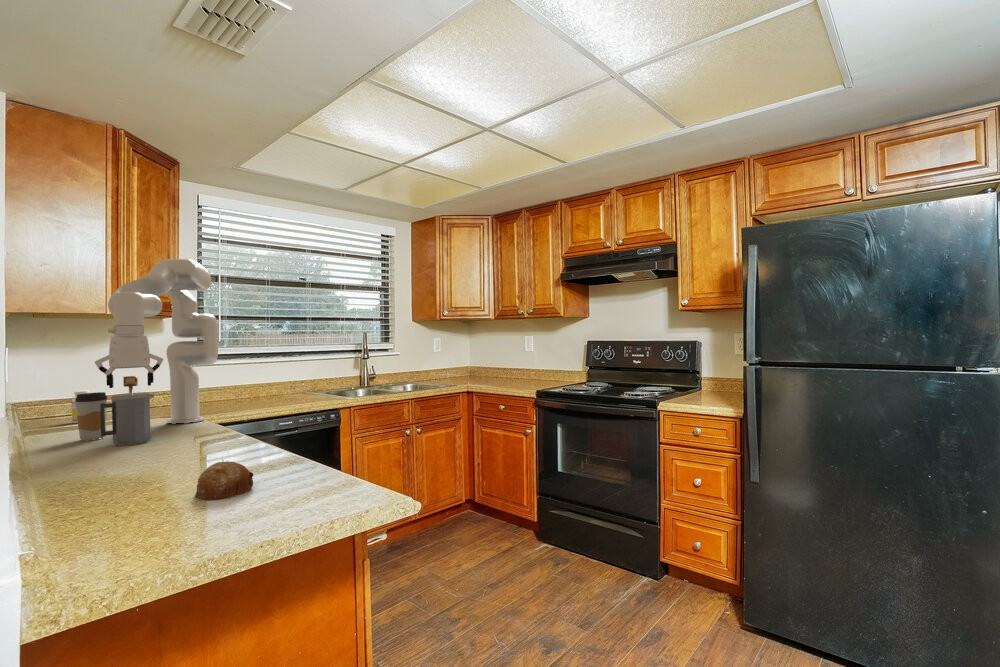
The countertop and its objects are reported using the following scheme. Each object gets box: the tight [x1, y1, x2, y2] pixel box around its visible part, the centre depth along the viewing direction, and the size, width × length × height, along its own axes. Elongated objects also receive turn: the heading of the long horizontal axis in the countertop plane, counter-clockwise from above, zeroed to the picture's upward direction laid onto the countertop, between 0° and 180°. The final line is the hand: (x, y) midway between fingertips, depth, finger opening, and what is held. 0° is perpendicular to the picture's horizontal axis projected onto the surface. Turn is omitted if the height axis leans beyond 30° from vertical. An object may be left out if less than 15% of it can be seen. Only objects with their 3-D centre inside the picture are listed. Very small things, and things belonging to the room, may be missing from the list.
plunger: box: [122, 375, 139, 394], centre depth 158 cm, size 6×6×19 cm
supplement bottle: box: [71, 389, 90, 424], centre depth 208 cm, size 7×7×13 cm
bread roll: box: [194, 460, 254, 501], centre depth 101 cm, size 10×10×8 cm
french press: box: [100, 391, 155, 446], centre depth 157 cm, size 9×13×15 cm
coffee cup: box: [75, 392, 108, 441], centre depth 167 cm, size 8×8×15 cm
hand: (130, 386), depth 158 cm, fingers open, 9 cm apart
